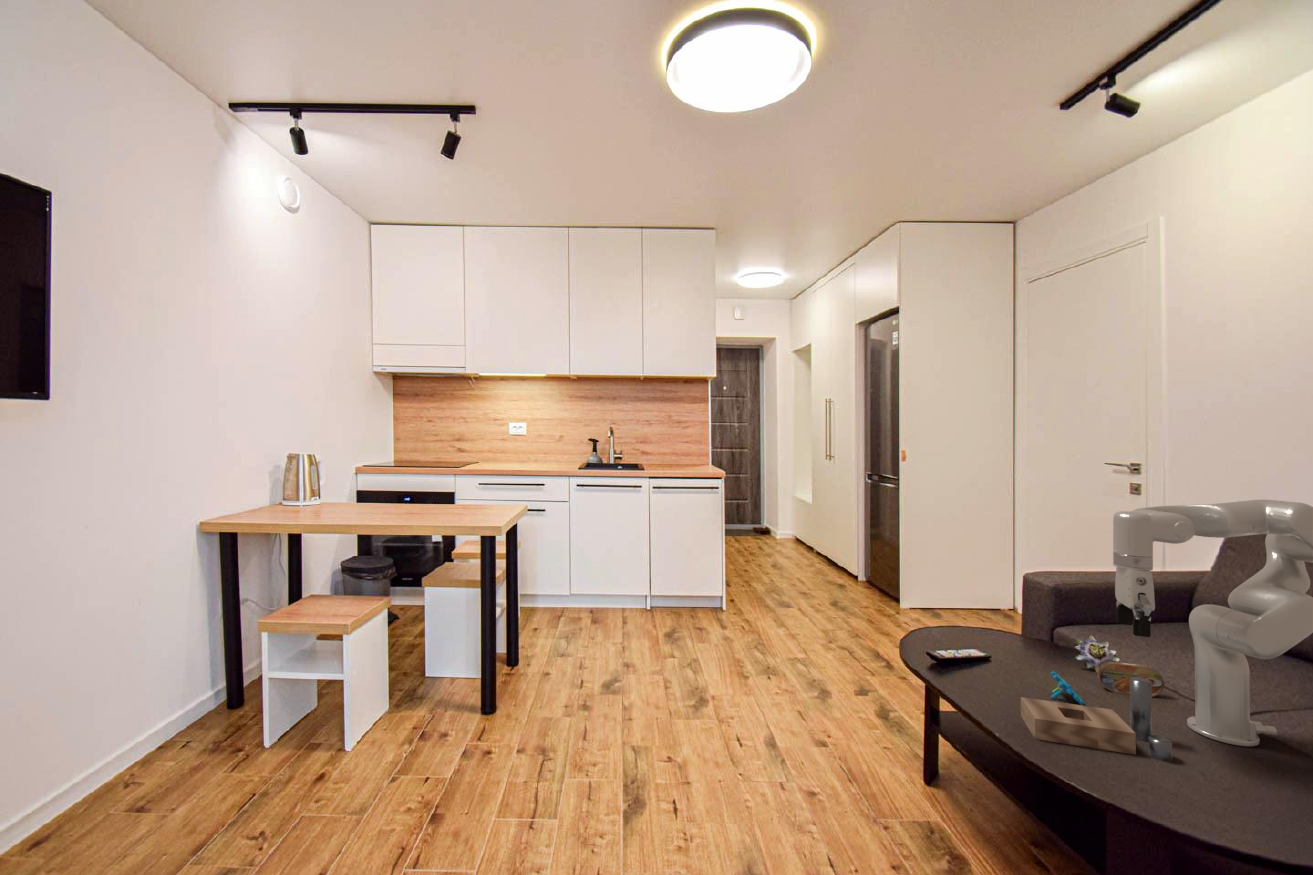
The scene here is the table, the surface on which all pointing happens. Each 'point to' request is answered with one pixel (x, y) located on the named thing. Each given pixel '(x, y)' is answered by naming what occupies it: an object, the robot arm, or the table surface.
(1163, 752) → the short pin
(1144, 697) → the long pin
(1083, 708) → the hole block
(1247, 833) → the table surface
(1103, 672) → the tin
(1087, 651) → the passion flower
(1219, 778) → the table surface
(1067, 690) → the gear
